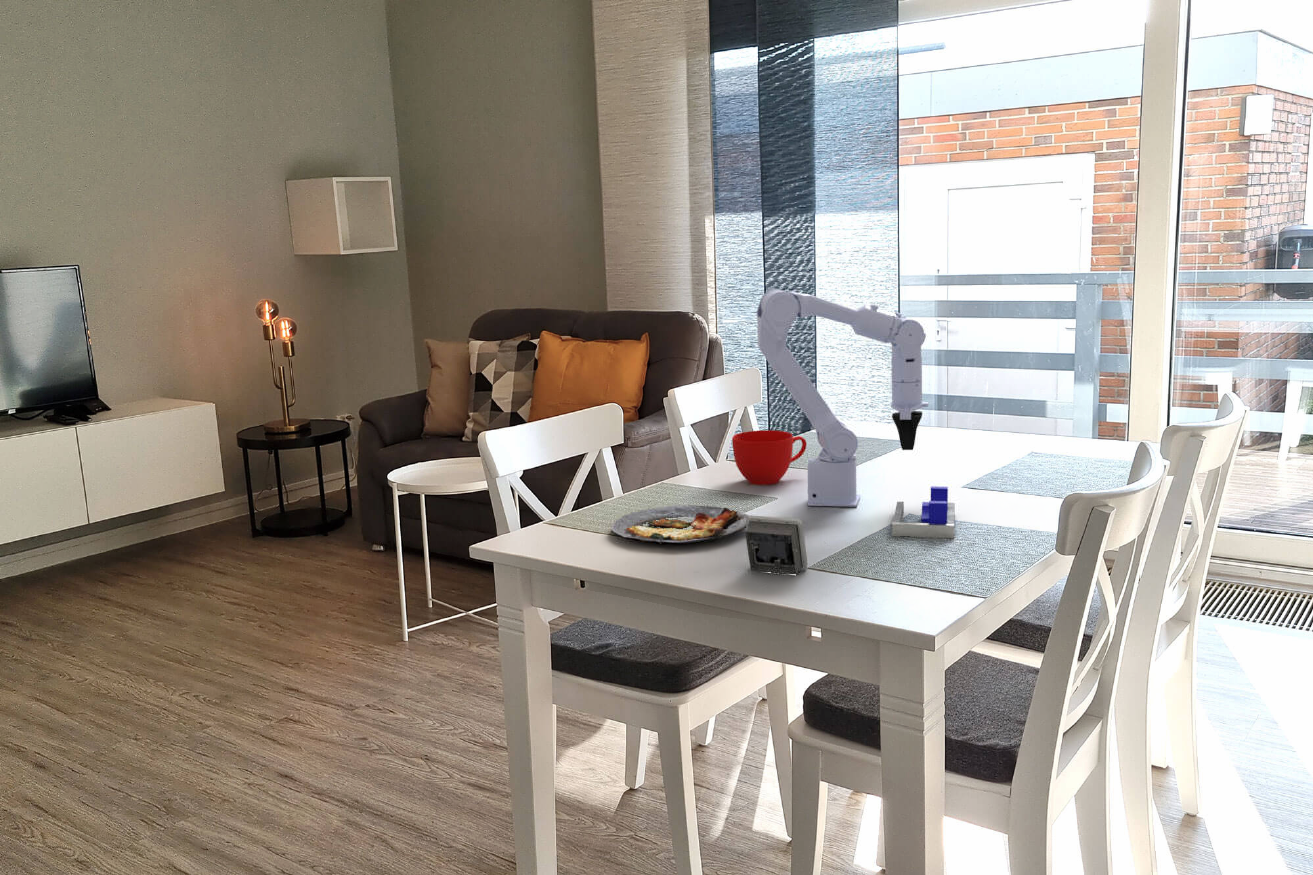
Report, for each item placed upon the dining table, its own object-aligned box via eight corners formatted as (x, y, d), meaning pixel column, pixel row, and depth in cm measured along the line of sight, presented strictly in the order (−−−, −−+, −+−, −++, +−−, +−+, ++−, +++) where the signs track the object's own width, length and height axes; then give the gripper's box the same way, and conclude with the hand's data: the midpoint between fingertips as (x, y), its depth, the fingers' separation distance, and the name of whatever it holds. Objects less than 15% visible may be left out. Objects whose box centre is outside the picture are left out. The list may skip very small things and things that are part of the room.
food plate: (770, 521, 202) (769, 503, 201) (713, 558, 182) (711, 538, 182) (655, 512, 215) (654, 495, 214) (590, 546, 195) (588, 527, 194)
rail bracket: (892, 536, 189) (892, 524, 188) (897, 512, 203) (897, 501, 203) (953, 538, 186) (954, 525, 186) (954, 514, 200) (954, 502, 200)
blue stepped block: (922, 517, 200) (922, 486, 199) (947, 518, 199) (947, 486, 198) (919, 536, 189) (920, 502, 188) (946, 536, 188) (946, 503, 187)
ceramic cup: (821, 481, 230) (820, 435, 229) (750, 491, 224) (748, 444, 223) (792, 469, 242) (790, 426, 240) (723, 479, 236) (722, 434, 234)
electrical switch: (808, 569, 173) (805, 515, 171) (799, 582, 169) (795, 527, 166) (753, 564, 177) (750, 511, 175) (742, 577, 173) (738, 522, 170)
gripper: (926, 386, 201) (927, 457, 203) (929, 374, 214) (929, 441, 217) (888, 386, 203) (889, 457, 205) (892, 375, 216) (893, 441, 219)
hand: (907, 449), depth 211 cm, fingers closed
